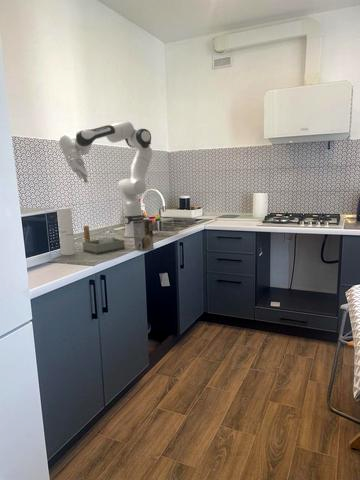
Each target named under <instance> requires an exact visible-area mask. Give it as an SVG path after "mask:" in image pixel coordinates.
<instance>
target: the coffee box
mask: <svg viewBox="0 0 360 480" xmlns="http://www.w3.org/2000/svg"><path fill="white" fill-rule="evenodd" d="M133 226H134V237H133V238H134V239H133V240H134V251H140V252H144V251H148V250H152V249H154V247H155V245H154V234H153V219H152V220H150V219H144V220H140V221H135V222H133Z"/></svg>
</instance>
